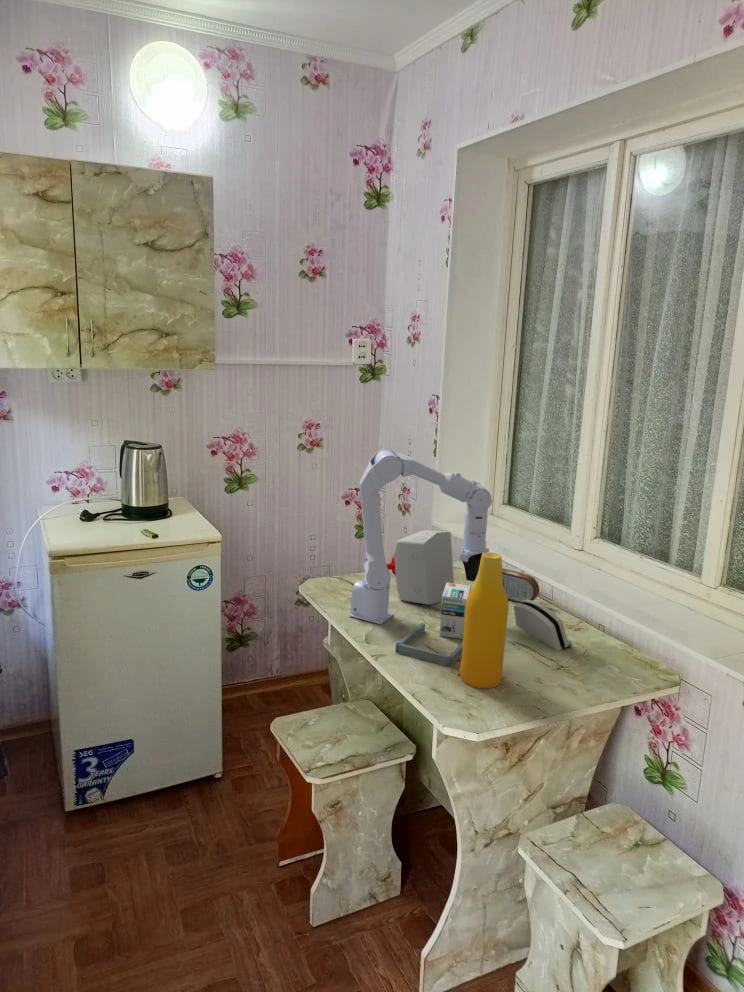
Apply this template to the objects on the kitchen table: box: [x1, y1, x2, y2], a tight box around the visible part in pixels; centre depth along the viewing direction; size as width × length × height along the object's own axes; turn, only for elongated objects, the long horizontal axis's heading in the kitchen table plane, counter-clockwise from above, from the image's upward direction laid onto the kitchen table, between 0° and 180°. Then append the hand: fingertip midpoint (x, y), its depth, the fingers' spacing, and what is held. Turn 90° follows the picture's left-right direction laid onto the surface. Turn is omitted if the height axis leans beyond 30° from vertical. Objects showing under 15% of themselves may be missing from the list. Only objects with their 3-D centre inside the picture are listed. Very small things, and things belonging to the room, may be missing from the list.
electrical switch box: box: [386, 529, 455, 605], centre depth 215 cm, size 14×15×20 cm
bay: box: [395, 622, 463, 667], centre depth 183 cm, size 14×15×2 cm
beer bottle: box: [459, 551, 509, 689], centre depth 165 cm, size 9×9×29 cm
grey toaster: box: [513, 600, 574, 652], centre depth 192 cm, size 17×5×10 cm, turn 27°
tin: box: [502, 567, 540, 603], centre depth 216 cm, size 15×3×8 cm, turn 58°
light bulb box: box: [439, 582, 472, 640], centre depth 193 cm, size 11×7×11 cm, turn 168°
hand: (470, 580), depth 201 cm, fingers closed
